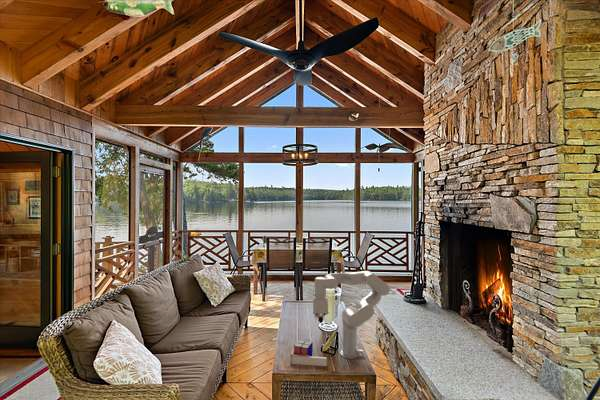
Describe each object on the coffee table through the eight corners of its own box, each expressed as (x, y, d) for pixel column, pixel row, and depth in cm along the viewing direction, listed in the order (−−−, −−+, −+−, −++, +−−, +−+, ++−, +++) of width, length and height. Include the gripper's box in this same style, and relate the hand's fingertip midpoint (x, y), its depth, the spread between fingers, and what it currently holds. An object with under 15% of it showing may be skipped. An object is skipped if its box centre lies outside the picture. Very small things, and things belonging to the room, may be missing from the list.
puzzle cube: (307, 363, 223) (307, 348, 223) (293, 360, 227) (293, 345, 227) (312, 356, 233) (312, 342, 232) (299, 354, 236) (299, 339, 236)
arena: (327, 355, 235) (327, 347, 234) (326, 366, 220) (326, 357, 220) (293, 352, 238) (293, 345, 238) (290, 363, 223) (290, 355, 223)
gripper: (309, 297, 228) (309, 324, 228) (331, 297, 226) (331, 324, 226) (310, 293, 235) (310, 320, 236) (331, 294, 233) (332, 320, 234)
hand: (320, 322), depth 231 cm, fingers closed
